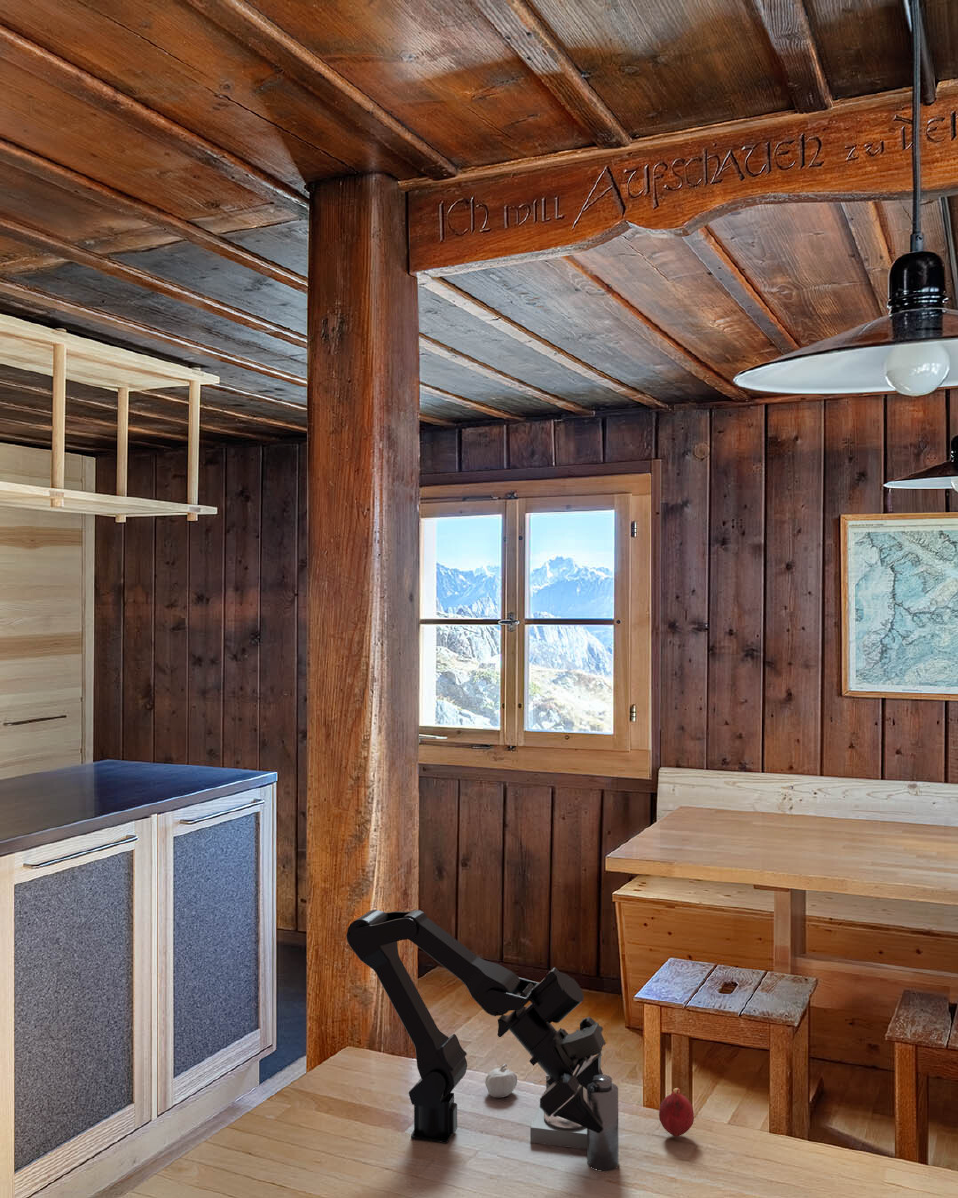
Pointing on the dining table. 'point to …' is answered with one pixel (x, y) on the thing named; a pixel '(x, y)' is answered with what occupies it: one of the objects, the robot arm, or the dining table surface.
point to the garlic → (501, 1082)
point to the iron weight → (603, 1124)
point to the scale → (557, 1130)
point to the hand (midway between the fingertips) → (607, 1117)
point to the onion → (676, 1113)
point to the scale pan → (561, 1122)
